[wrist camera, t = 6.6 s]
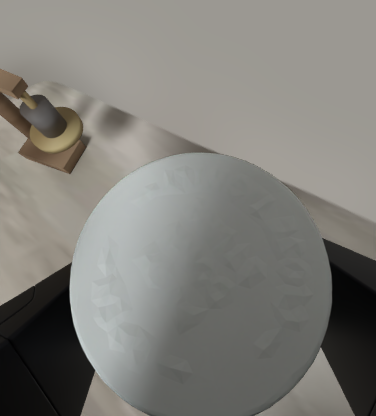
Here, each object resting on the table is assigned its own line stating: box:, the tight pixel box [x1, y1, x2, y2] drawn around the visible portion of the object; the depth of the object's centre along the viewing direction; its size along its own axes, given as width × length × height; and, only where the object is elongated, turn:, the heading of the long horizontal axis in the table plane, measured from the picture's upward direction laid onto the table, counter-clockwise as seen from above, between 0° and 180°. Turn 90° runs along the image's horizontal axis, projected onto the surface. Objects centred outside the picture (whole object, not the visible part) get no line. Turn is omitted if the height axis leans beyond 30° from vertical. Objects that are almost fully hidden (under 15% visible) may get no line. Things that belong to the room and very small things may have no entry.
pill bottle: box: [70, 152, 332, 416], centre depth 10 cm, size 6×6×11 cm
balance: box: [0, 69, 86, 174], centre depth 16 cm, size 11×4×10 cm, turn 68°
